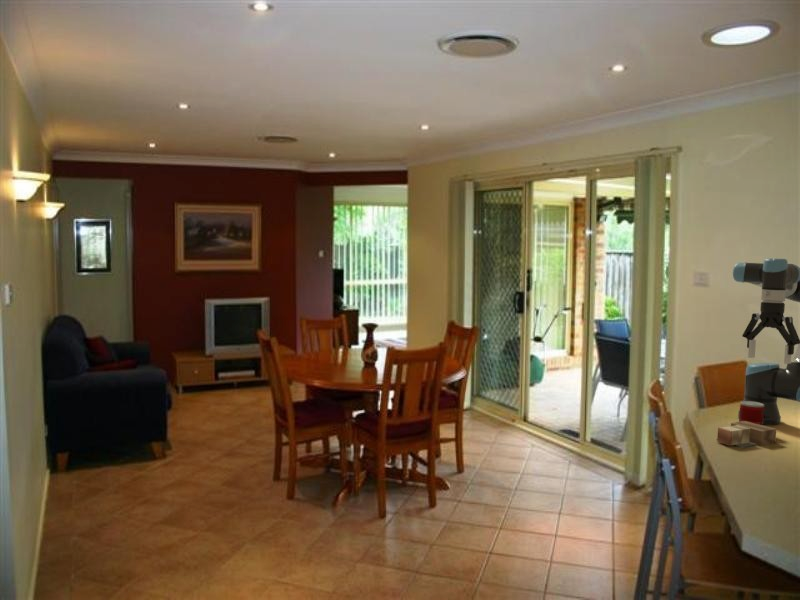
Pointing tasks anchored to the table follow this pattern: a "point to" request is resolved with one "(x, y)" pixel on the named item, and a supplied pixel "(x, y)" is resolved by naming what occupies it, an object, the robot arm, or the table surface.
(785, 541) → the table surface
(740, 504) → the table surface
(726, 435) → the block
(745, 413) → the canned food
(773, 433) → the step
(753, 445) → the mat
